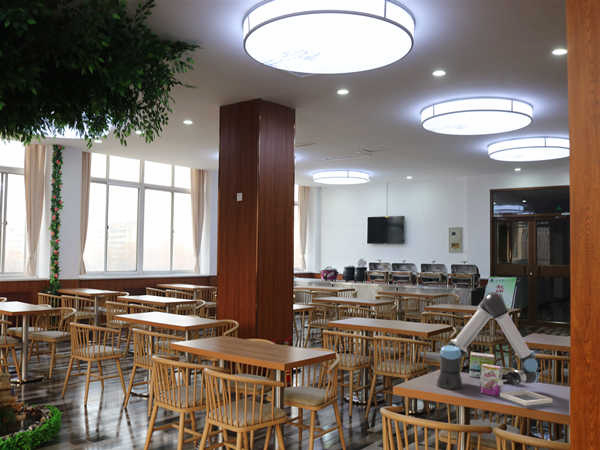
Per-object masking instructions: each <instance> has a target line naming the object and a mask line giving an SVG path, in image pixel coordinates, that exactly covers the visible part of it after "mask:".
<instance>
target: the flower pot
mask: <svg viewBox="0 0 600 450" xmlns="http://www.w3.org/2000/svg"><path fill="white" fill-rule="evenodd" d="M501 367H502V366H501ZM511 371H516V369H515V368H513V367H508V366H507V367H506V366H505V367H504V366H503V367H502V374H508V373H509V372H511Z"/></svg>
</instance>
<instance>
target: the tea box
mask: <svg viewBox="0 0 600 450" xmlns="http://www.w3.org/2000/svg"><path fill="white" fill-rule="evenodd" d="M469 360H470V361H469V377H473V378H480V375H481V365H482V364H488V365H493V366H495V354H492V353H491V354H490V353H482V352H473V351H470V358H469Z"/></svg>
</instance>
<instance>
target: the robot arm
mask: <svg viewBox="0 0 600 450" xmlns="http://www.w3.org/2000/svg"><path fill="white" fill-rule="evenodd" d="M509 313H510V312H509V310H508V308H507V305H506V303H505V300H504V297H503V296H502V294H500V293H499V292H497V291H490V292H488V293H486V294H485V295H484V296H483V299H482V300H481V301H480V303H478V305H477V310H476V312H475V313H474V314H472V315H473V316H472V317H471V318H470V319H469V320H468V322H466V324H465V325H464V326H463V328H462V329H461V331H460V332H459V333H458V335H456V337H455V338H452V339H450V341H448V343H447V345H443V346H442V347H440V363H439V365H440V366H439V375H438V378H437V380H436V386H437V387H439V388H441V389H447V390H461V389H463V386H464V385H463V381H462V376H461V361H462V358H463V357H464V356H465V355H466V353H467V352H468V351H467V348H468V347H469V345H470V344H471V343H472V342H473V341H474V339H475V337H476V336H477V335H478V334H479V333H480V332H481V331H482V329H483V328H484V326H485V325H486V324H487V323H488V321H490V319H492V318H493V320H495V321H497V324H498V326H499V327H500V328H501V330H502V333H504V336H505V337H506V338H507V340H508V342H509V344H510V346H511V347H512V349H513V351H514V352H515V354H516V356H517V357H518V359H519V361H520V362H521V364H520V365H521V368H520V369H521V370H515V371H511V372H509V373H508V374H502V380H498V385H502V386H512V387H514V386H515V385H518V386H520V385H523V384H534V383H537V382H538V381H539V377H540V376H539V374H538V371H537V369H538V367H539V365H538V361H537V360H536V352H535V351H534V350H531V349H530V348H529V346H528V345H527V344H526V342H525V340H524V338H523V336H522V335H521V333H520V331H519V330H518V328H517V326H516V325H515V323H514V321H513V320H512V318H511V316H510V315H509ZM480 377H481V375H480ZM480 377H479V378H480Z"/></svg>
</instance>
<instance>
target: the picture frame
mask: <svg viewBox="0 0 600 450" xmlns="http://www.w3.org/2000/svg"><path fill="white" fill-rule="evenodd" d="M499 400H502V401H504V402H507V403H510V404H512V405H516V406H518V407H521V408H523V409H531V408H532V409H533V408H540V407H549V406H553V398H552V397H548V396H545V395H543V394H539V393H536V392H533V391H530V390H526V389H523V390H522V389H521V390H515V391H514V390H513V391H501V393H500V397H499Z"/></svg>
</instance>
